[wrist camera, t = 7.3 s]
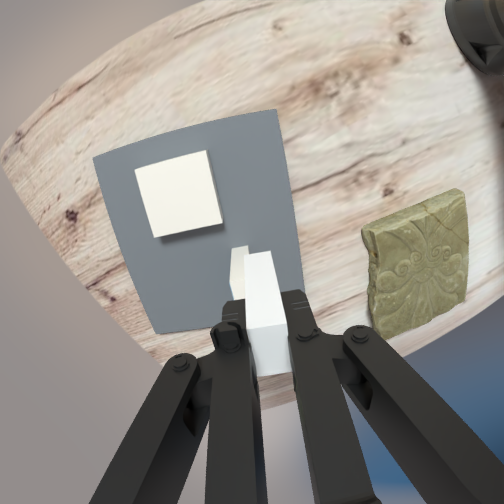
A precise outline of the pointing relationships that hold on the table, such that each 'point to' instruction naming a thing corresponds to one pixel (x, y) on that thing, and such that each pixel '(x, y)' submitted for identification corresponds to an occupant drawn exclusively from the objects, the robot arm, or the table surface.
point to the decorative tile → (417, 263)
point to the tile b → (238, 272)
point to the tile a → (180, 193)
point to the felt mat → (210, 237)
